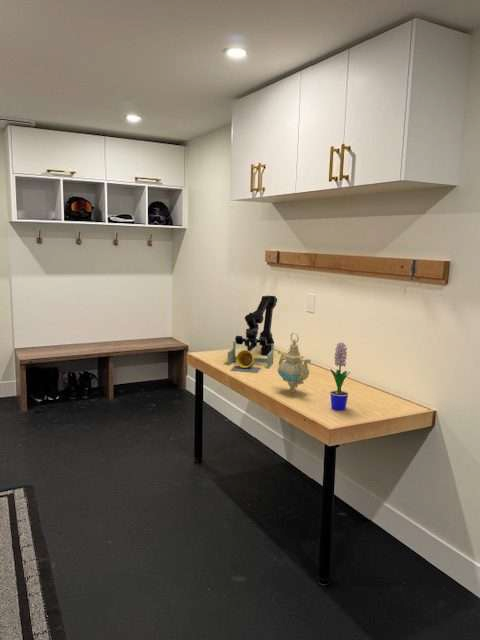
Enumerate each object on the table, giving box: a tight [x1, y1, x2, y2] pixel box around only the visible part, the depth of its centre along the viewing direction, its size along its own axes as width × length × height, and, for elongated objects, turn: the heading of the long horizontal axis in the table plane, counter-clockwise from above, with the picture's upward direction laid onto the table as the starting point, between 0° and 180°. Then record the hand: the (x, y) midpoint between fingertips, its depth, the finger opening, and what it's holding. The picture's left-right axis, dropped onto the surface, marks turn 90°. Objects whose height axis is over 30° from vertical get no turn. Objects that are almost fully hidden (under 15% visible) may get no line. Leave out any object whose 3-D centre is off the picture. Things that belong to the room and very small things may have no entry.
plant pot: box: [235, 349, 255, 368], centre depth 294 cm, size 10×10×10 cm
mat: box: [230, 365, 262, 374], centre depth 289 cm, size 12×16×1 cm
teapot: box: [277, 332, 312, 393], centre depth 244 cm, size 24×12×30 cm, turn 32°
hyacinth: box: [329, 342, 351, 411], centre depth 220 cm, size 9×10×30 cm
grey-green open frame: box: [227, 340, 275, 369], centre depth 302 cm, size 15×25×12 cm, turn 77°
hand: (248, 352), depth 295 cm, fingers closed
